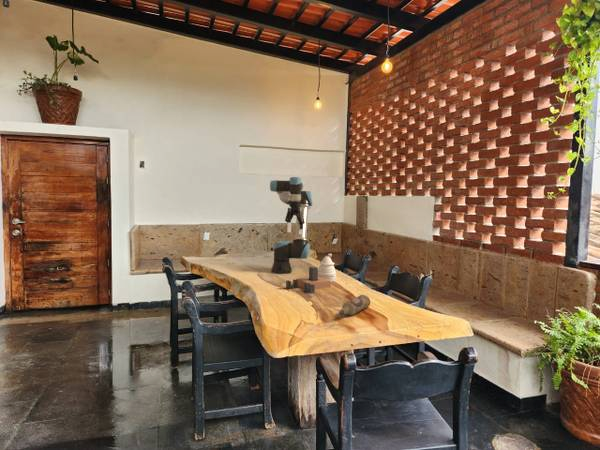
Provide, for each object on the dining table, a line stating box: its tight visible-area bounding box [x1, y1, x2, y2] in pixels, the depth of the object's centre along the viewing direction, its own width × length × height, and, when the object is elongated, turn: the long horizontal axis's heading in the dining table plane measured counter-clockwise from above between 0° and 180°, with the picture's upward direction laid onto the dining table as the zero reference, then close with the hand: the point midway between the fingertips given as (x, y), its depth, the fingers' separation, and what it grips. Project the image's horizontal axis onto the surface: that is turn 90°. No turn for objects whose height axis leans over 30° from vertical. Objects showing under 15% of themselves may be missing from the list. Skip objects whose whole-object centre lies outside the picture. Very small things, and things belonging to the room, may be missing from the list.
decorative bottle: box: [338, 294, 371, 316], centre depth 187 cm, size 8×26×7 cm, turn 144°
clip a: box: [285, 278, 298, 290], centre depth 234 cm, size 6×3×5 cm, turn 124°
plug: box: [308, 266, 319, 281], centre depth 240 cm, size 4×4×12 cm
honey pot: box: [318, 253, 337, 283], centre depth 258 cm, size 13×13×18 cm
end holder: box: [295, 276, 332, 290], centre depth 241 cm, size 16×16×4 cm
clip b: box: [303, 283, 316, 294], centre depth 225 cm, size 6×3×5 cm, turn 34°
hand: (294, 233), depth 248 cm, fingers open, 13 cm apart
